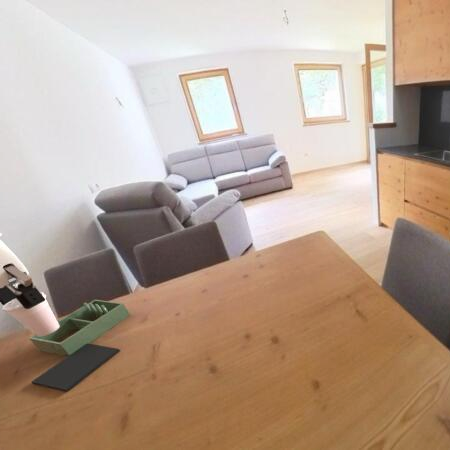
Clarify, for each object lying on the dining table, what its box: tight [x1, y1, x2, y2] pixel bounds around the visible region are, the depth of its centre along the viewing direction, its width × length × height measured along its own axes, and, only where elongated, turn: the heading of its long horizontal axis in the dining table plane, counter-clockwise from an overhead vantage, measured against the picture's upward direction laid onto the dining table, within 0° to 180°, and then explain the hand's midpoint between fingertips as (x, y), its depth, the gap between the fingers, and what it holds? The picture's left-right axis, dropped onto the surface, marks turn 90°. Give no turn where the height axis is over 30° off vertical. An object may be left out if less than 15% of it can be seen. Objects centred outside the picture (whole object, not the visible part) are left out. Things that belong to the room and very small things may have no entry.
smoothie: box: [1, 283, 60, 336], centre depth 65 cm, size 6×6×14 cm
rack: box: [28, 299, 131, 357], centre depth 84 cm, size 12×16×7 cm
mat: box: [31, 343, 121, 393], centre depth 74 cm, size 12×12×1 cm
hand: (24, 302), depth 64 cm, fingers closed on smoothie, 6 cm apart
